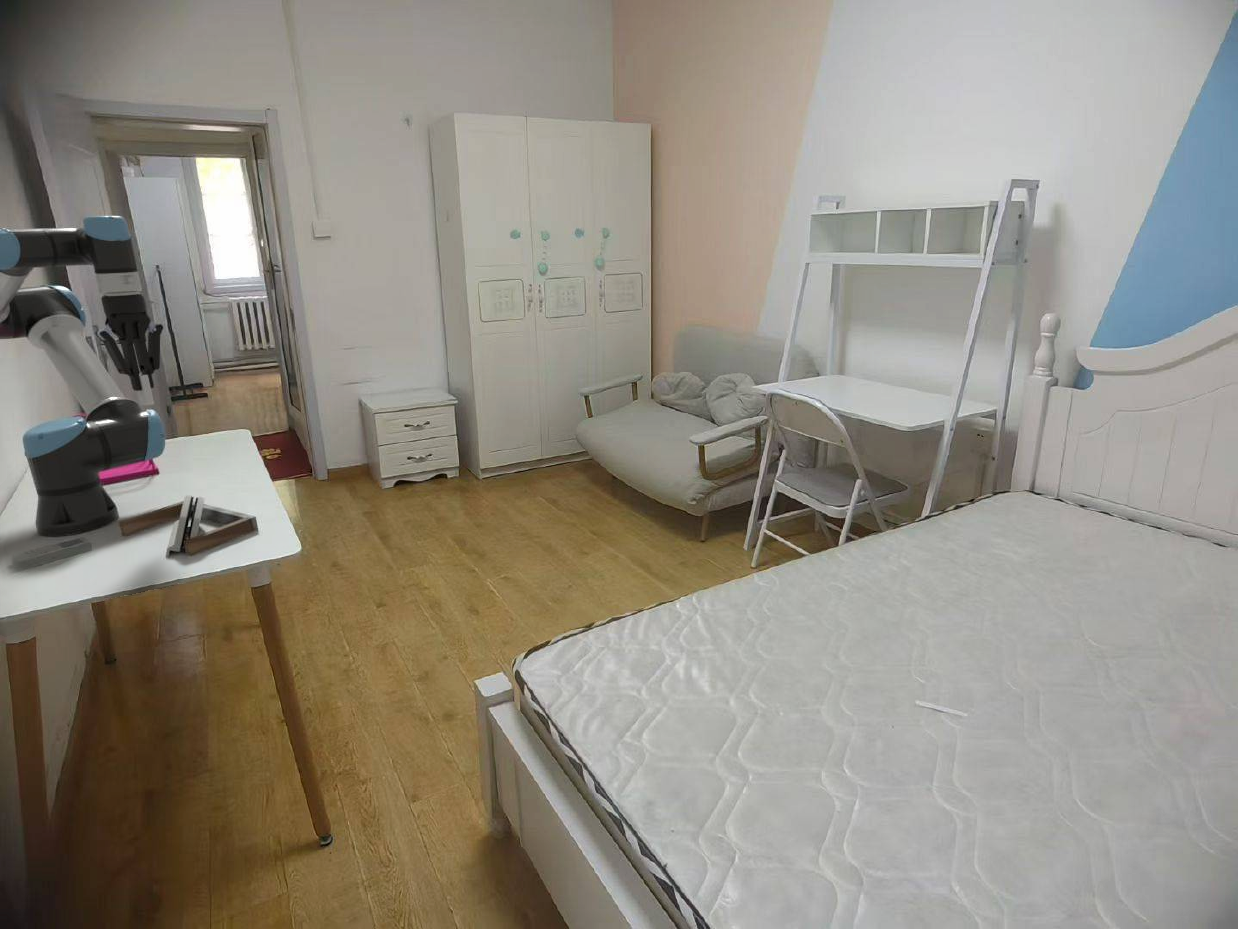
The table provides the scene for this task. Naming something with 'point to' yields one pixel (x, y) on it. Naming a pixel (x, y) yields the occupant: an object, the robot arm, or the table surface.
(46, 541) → the table surface
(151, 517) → the brown u-shaped frame
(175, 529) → the hinge
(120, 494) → the table surface
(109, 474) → the file sorter
